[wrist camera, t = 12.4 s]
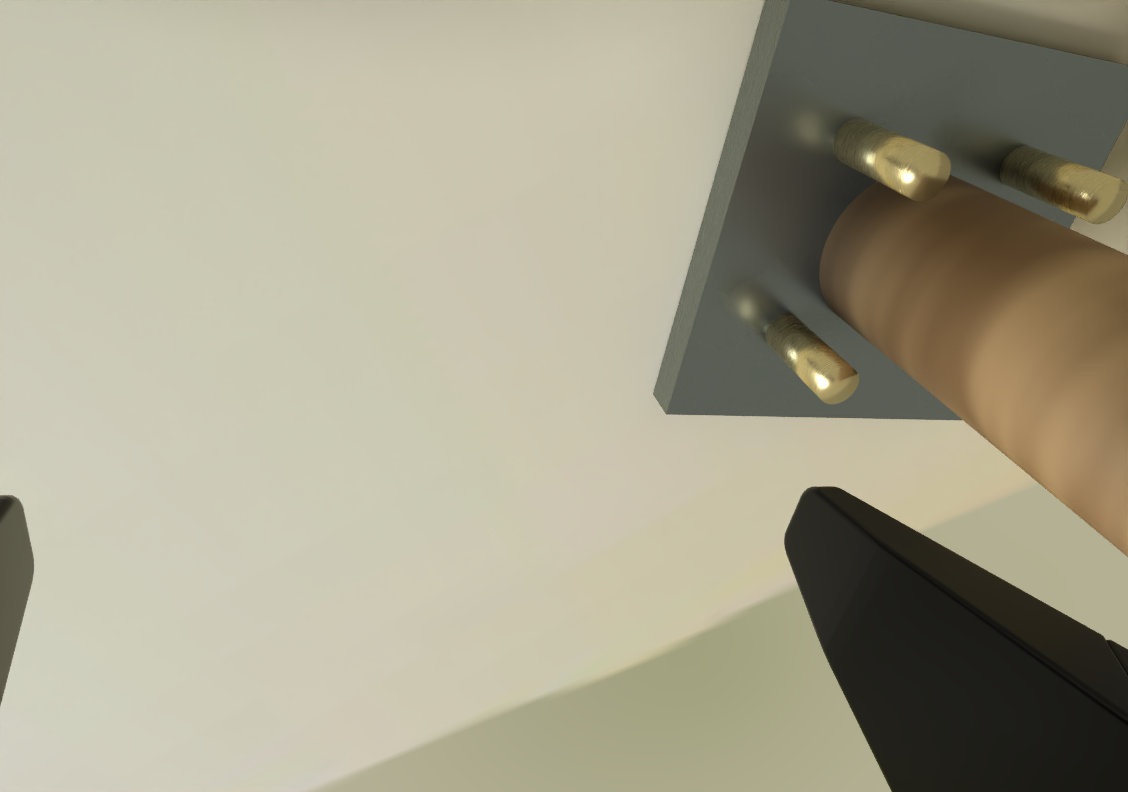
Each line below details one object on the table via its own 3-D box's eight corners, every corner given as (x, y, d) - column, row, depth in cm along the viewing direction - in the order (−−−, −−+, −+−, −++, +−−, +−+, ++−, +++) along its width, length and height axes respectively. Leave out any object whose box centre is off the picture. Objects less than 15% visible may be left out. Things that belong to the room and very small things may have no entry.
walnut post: (787, 288, 23) (1178, 627, 12) (897, 136, 21) (1464, 379, 11) (893, 347, 25) (1301, 673, 15) (1001, 213, 23) (1551, 476, 13)
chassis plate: (653, 394, 25) (706, 477, 22) (769, -13, 19) (868, 9, 16) (945, 402, 29) (1032, 474, 26) (1118, 63, 23) (1263, 95, 20)
